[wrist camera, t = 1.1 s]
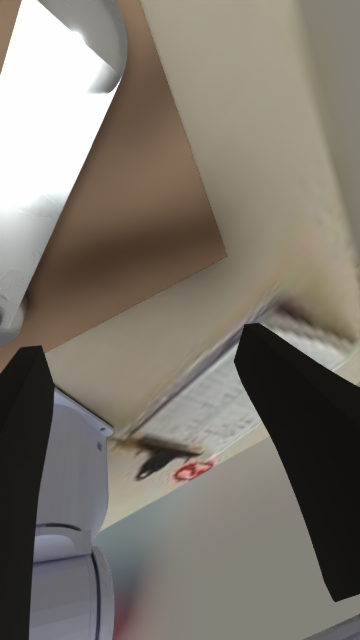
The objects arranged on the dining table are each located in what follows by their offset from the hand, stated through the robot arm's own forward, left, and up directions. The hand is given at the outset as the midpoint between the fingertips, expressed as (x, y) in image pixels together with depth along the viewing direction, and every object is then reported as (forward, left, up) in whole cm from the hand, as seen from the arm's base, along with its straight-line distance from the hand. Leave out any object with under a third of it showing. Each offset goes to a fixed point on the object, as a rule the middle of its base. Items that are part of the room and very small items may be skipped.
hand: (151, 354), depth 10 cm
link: (+5, +3, -7) cm, 9 cm away
